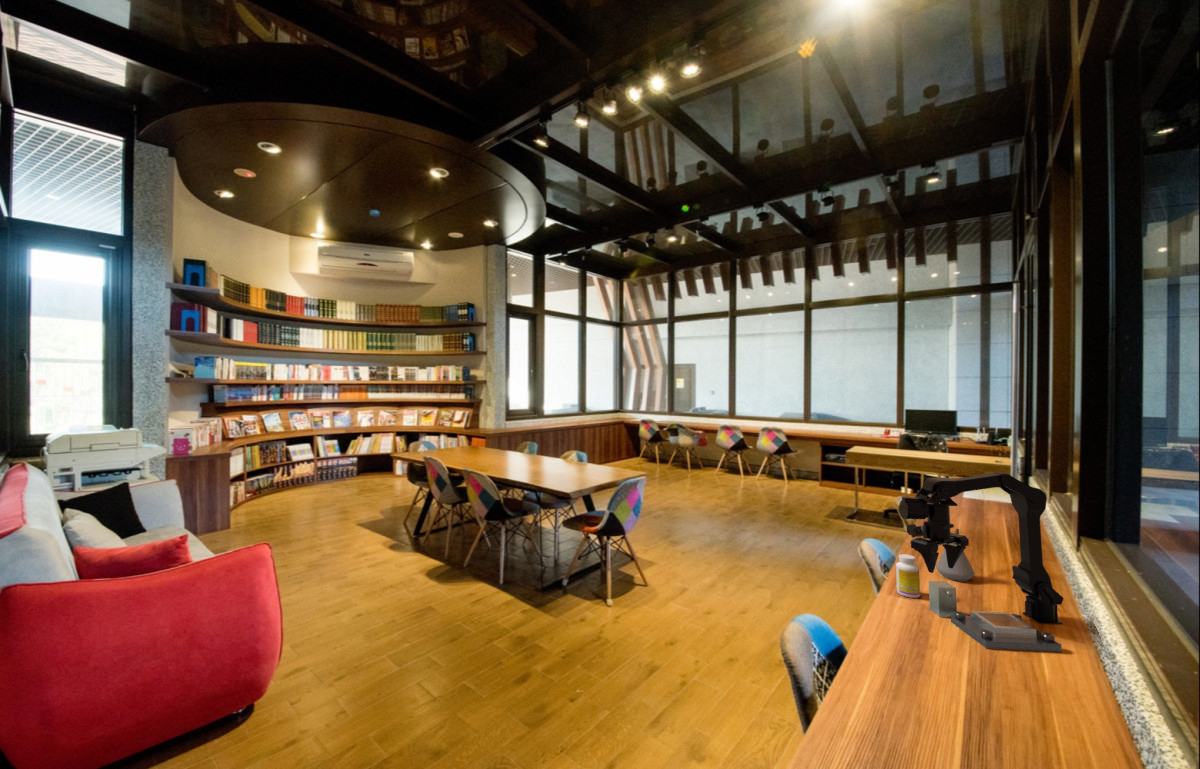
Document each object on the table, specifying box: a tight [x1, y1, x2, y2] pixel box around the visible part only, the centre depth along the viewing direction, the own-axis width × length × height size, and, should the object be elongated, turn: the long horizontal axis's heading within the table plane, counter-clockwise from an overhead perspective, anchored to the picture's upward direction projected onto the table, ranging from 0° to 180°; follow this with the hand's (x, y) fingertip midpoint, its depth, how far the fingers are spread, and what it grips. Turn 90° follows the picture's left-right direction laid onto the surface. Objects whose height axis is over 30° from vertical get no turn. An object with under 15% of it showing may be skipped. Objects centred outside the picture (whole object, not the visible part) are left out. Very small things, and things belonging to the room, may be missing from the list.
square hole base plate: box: [950, 610, 1062, 653], centre depth 129 cm, size 18×15×4 cm
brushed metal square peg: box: [928, 580, 958, 618], centre depth 143 cm, size 5×6×9 cm
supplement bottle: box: [895, 553, 921, 599], centre depth 158 cm, size 7×7×13 cm
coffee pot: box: [935, 528, 976, 582], centre depth 176 cm, size 21×12×15 cm, turn 137°
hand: (940, 570), depth 143 cm, fingers open, 9 cm apart
